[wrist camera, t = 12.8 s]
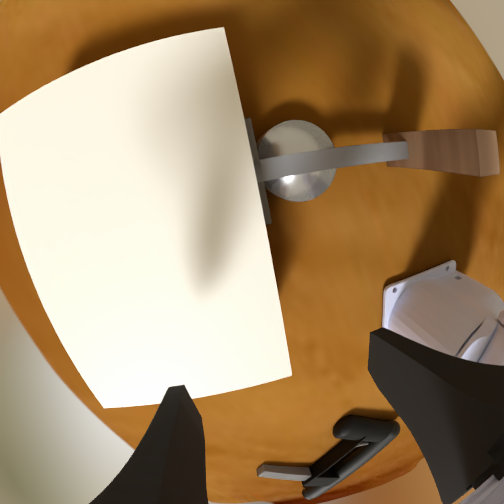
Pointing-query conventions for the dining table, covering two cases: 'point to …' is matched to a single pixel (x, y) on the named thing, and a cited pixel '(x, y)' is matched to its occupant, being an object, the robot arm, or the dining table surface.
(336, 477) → the door handle
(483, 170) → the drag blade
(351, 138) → the dining table surface
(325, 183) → the grey round disc
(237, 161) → the white bridge block
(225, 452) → the dining table surface
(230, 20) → the dining table surface
